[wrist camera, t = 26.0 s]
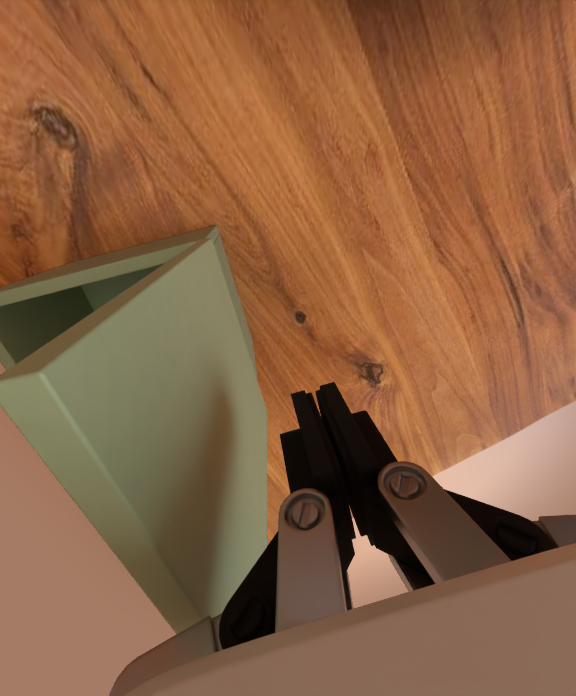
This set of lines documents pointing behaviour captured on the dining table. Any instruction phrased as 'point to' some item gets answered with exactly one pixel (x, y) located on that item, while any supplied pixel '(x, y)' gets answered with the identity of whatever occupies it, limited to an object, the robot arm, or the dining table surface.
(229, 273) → the box
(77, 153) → the dining table surface
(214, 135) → the dining table surface
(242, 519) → the lid
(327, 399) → the robot arm
